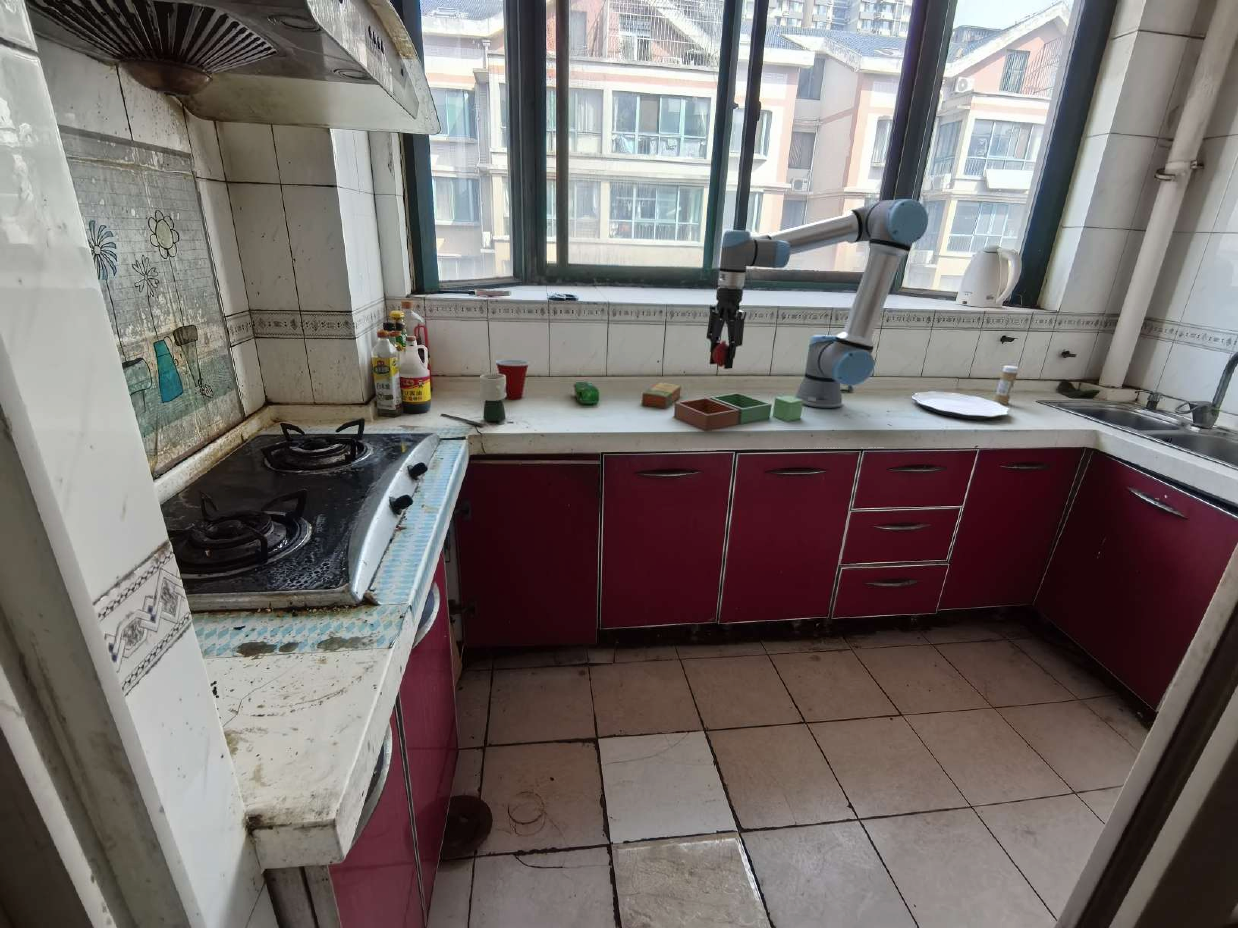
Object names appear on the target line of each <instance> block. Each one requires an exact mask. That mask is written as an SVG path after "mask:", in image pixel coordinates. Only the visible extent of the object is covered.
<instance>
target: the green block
mask: <svg viewBox="0 0 1238 928" xmlns="http://www.w3.org/2000/svg"><path fill="white" fill-rule="evenodd" d="M802 409H803V400H801V399H798V398H795V397H794V396H791V395H784V396H777V397H775V398H774V404H773V409H772V410H773V411H772V417H774V418H777V419H780V420H783V421H785V422H791V421H796V420H800V419H801V416H802Z"/></svg>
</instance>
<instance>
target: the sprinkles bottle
mask: <svg viewBox="0 0 1238 928" xmlns="http://www.w3.org/2000/svg"><path fill="white" fill-rule="evenodd" d="M1019 370H1020V368H1019V367H1018V366H1015V365H1004V366H1003V369H1002V374H1001V377H1000V379H999V382H998V383H999V385H998V387H997V389H996V390H997V391H996V394H995V398H994V400H993V401H994V402H997V403H999V404H1001V405H1002V406H1006V405H1009V403H1010V402H1009V401H1010V398H1011V395H1012V392H1013V388H1014V386H1015V385H1014V384H1015V381H1016V377H1017V375H1018V373H1019Z"/></svg>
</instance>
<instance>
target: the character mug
mask: <svg viewBox="0 0 1238 928" xmlns="http://www.w3.org/2000/svg"><path fill="white" fill-rule="evenodd" d="M479 385H480V397H481V399H482V400H484V405H483V420H484V421H488V422H496V423H497V422H498V421H504V420H506V418H507V417H506V409H505V405H504V402H503V400H504V399H506V398H505V397H506V376H505V375H503V374H499V373H484V374H481V375H480V376H479Z"/></svg>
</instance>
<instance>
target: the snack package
mask: <svg viewBox="0 0 1238 928" xmlns="http://www.w3.org/2000/svg"><path fill="white" fill-rule="evenodd" d="M573 390H574V394H575V396H576V398H577V400H578V402H579V403H581V404H583V405H595V404H597V403H598V402H599V401H600V390H599V388H598V386H597V385H596V383H594V382H593V381H577V382H574V384H573Z"/></svg>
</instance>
